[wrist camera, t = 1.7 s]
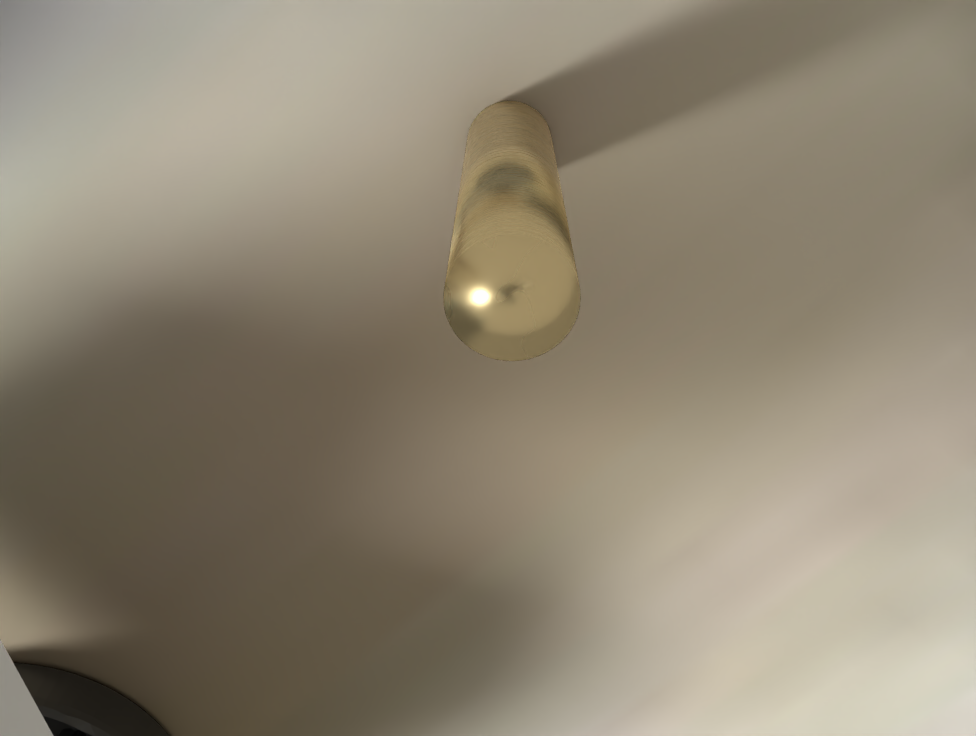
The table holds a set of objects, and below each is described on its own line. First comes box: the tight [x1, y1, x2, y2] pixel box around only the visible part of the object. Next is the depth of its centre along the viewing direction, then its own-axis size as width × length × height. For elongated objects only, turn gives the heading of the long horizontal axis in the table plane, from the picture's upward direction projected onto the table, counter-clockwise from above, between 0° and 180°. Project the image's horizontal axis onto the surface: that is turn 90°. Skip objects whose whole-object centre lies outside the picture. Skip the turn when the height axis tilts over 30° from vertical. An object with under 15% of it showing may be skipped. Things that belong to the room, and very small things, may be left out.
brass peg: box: [444, 101, 581, 361], centre depth 26 cm, size 3×3×14 cm
